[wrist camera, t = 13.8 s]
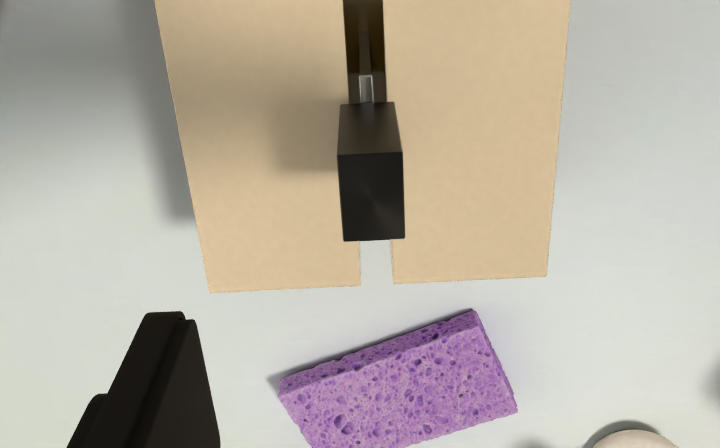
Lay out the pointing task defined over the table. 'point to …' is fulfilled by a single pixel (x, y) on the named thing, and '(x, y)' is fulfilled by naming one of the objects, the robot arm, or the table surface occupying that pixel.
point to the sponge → (402, 389)
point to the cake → (321, 122)
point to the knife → (370, 162)
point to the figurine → (634, 440)
